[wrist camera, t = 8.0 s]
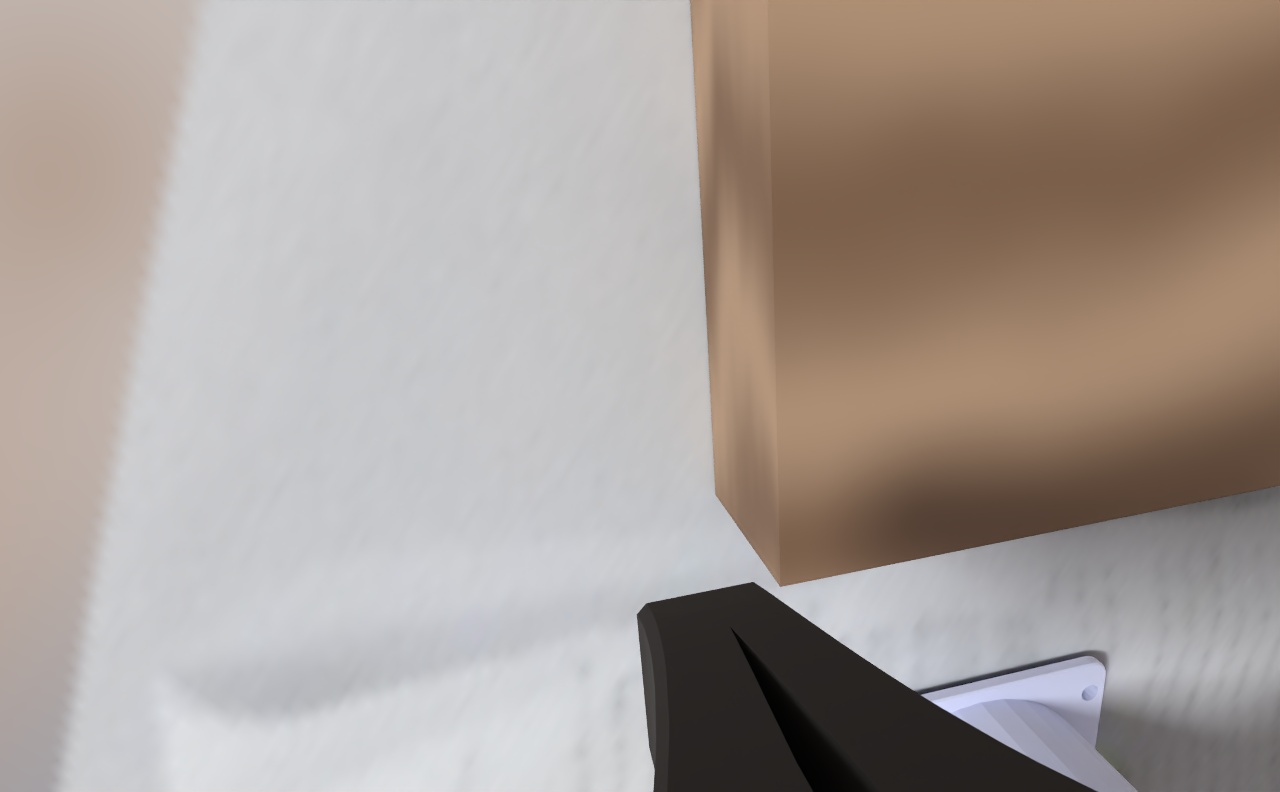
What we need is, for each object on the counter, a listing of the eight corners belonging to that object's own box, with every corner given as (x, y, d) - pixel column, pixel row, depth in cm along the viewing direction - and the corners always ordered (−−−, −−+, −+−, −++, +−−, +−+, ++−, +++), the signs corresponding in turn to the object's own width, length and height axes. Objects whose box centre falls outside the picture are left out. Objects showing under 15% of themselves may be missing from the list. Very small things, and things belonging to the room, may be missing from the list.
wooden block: (1158, 415, 22) (1305, 480, 18) (715, 494, 19) (780, 586, 16) (1255, -231, 17) (1485, -324, 13) (679, -223, 15) (760, -330, 11)
